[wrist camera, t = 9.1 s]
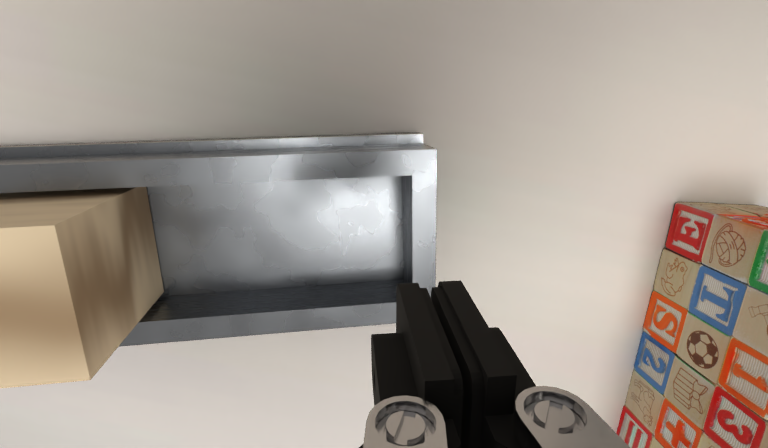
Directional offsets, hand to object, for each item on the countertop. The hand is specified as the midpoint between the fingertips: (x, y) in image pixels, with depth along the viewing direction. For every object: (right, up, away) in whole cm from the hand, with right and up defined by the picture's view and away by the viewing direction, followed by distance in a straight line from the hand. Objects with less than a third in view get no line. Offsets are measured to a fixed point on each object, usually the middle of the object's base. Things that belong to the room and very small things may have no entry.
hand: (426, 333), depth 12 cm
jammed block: (-16, +2, +11) cm, 20 cm away
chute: (-12, +2, +13) cm, 18 cm away
